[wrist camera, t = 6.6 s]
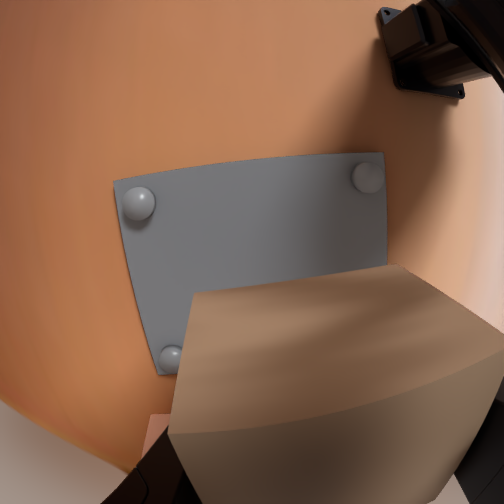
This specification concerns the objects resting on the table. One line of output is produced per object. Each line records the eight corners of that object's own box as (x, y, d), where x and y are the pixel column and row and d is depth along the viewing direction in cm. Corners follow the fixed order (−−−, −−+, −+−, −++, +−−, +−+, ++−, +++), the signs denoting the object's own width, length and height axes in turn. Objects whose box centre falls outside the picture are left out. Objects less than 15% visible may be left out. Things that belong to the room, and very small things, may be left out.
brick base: (396, 263, 9) (515, 342, 4) (379, 406, 10) (434, 499, 5) (194, 292, 8) (167, 433, 3) (226, 436, 10) (234, 553, 5)
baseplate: (379, 152, 17) (390, 151, 16) (378, 336, 21) (386, 345, 19) (116, 180, 16) (108, 181, 15) (159, 369, 20) (156, 381, 19)
